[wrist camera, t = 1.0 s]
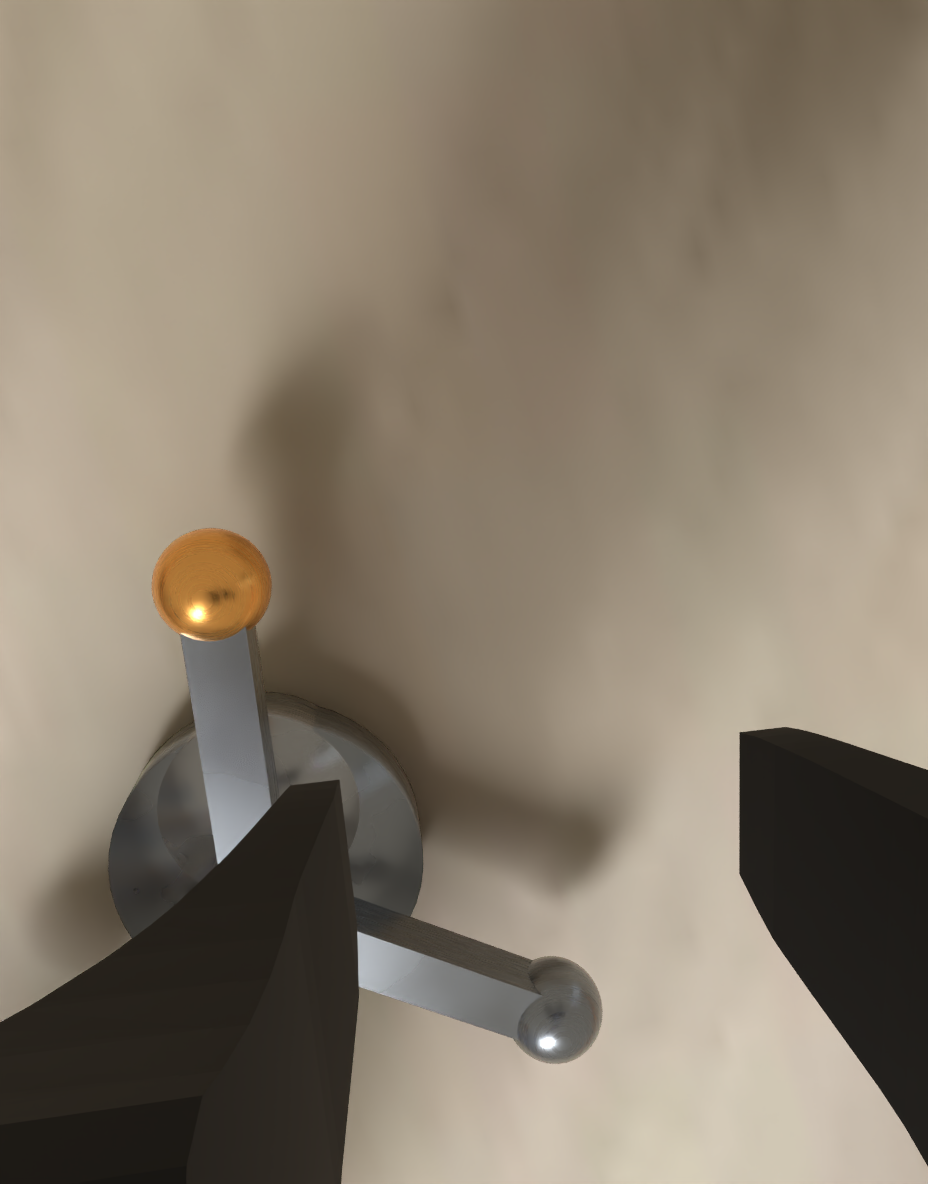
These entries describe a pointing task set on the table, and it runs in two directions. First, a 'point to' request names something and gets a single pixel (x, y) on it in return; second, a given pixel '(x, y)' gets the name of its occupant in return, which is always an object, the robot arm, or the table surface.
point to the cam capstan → (298, 756)
